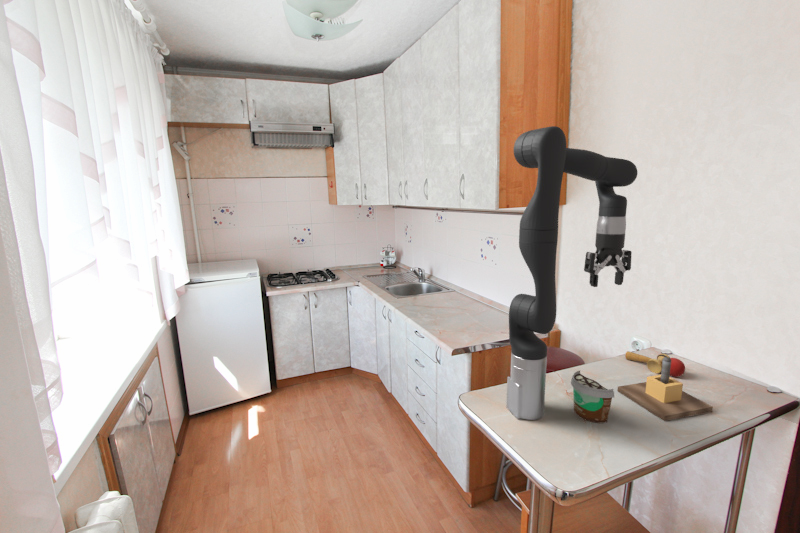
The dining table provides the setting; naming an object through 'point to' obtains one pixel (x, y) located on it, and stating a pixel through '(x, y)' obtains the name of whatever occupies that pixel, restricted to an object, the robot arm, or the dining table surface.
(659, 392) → the tan hollow square block
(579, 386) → the food container
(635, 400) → the needle stand
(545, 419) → the dining table surface
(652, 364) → the kendama
